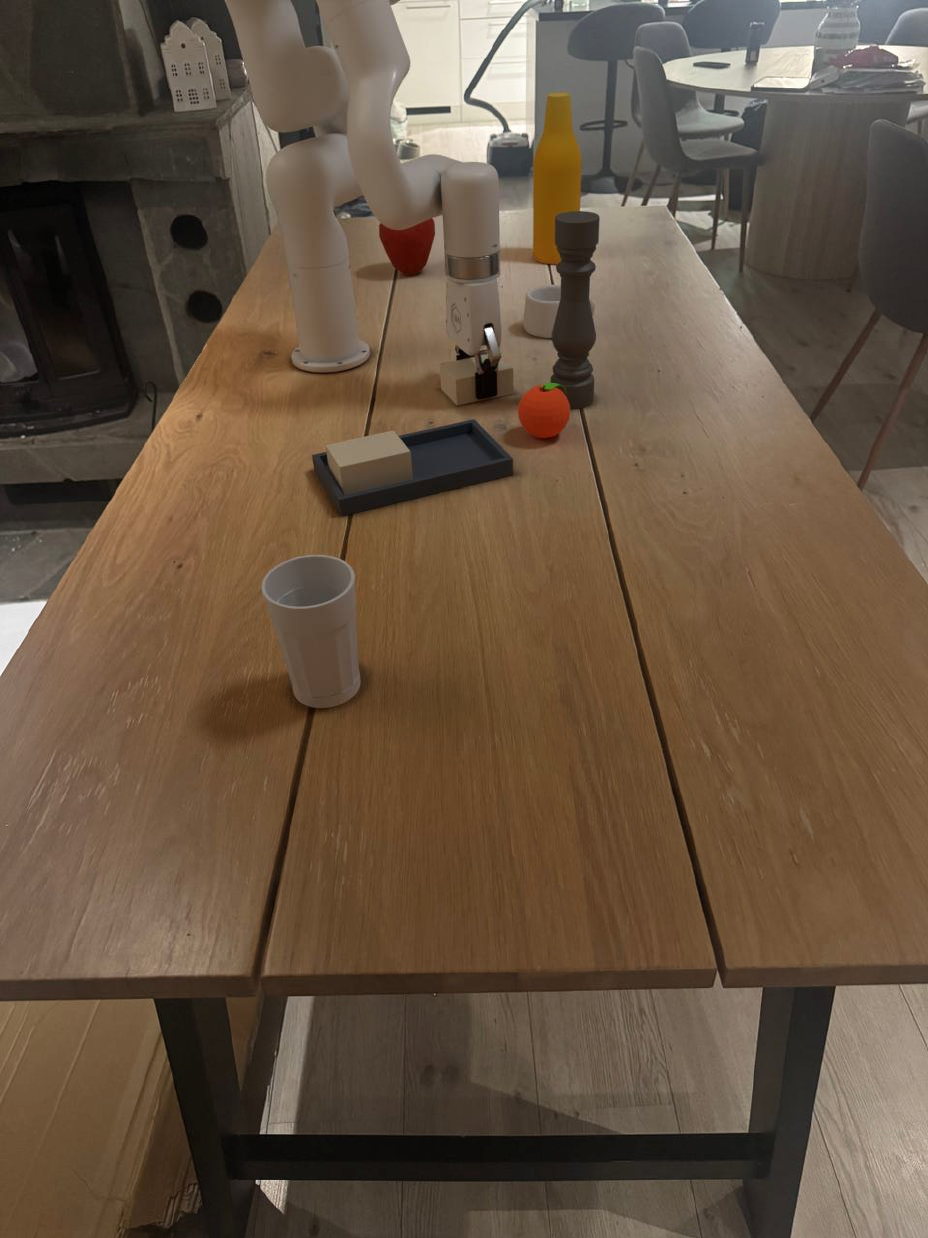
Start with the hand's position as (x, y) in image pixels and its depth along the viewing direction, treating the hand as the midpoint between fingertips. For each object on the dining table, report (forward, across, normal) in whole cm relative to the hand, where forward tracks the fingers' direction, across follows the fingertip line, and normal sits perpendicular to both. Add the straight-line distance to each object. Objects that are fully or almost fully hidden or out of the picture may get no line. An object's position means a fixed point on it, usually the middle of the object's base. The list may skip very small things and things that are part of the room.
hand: (476, 387), depth 137 cm
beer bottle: (+1, -52, +39) cm, 65 cm away
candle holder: (+1, +9, +11) cm, 14 cm away
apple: (+1, -58, +10) cm, 59 cm away
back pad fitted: (0, +19, -22) cm, 29 cm away
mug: (+1, -17, +22) cm, 28 cm away
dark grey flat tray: (+1, +19, -17) cm, 26 cm away
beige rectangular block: (+1, 0, 0) cm, 1 cm away
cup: (+1, +54, -38) cm, 66 cm away
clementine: (+1, +17, +3) cm, 17 cm away
